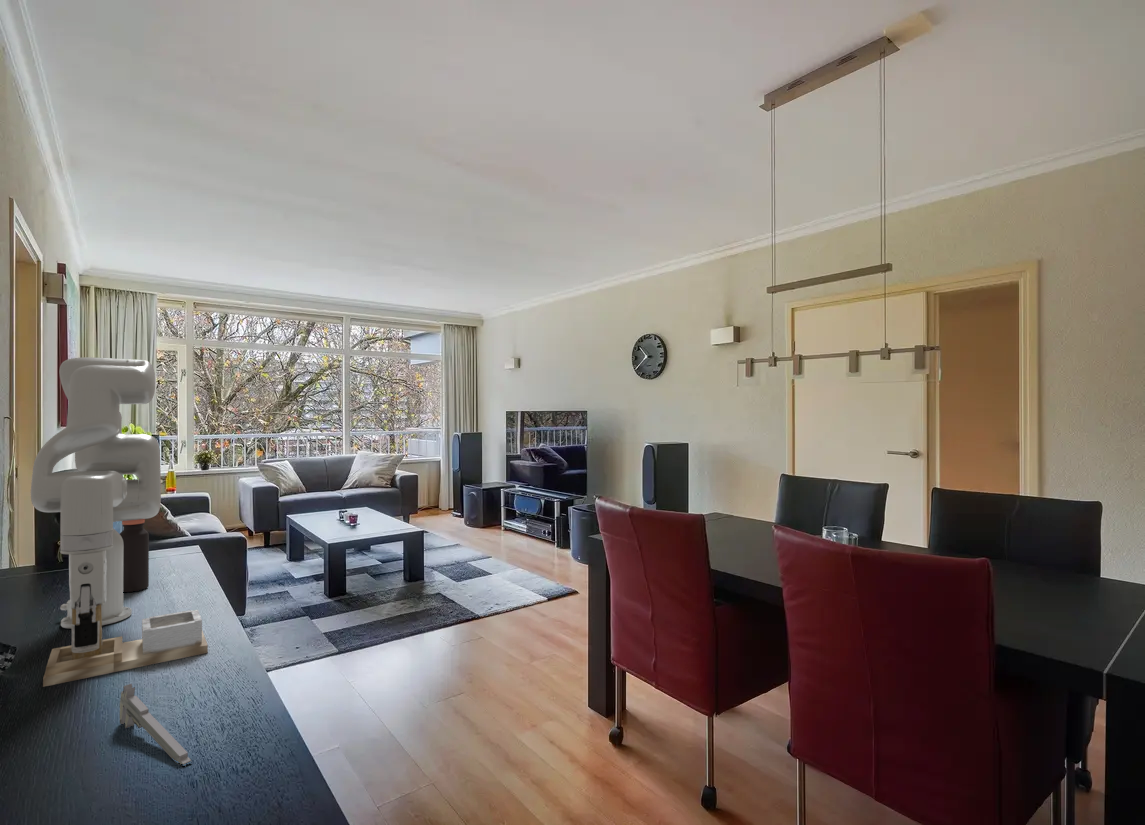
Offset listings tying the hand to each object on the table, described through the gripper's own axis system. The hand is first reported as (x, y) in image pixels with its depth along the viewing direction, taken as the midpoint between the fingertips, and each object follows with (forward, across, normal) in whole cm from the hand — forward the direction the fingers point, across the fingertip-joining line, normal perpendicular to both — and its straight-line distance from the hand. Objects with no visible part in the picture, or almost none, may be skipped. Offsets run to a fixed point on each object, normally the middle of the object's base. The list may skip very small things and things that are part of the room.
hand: (86, 640), depth 109 cm
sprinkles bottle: (+5, 0, 0) cm, 5 cm away
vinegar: (+5, +58, -7) cm, 59 cm away
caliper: (+5, -39, -9) cm, 41 cm away
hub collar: (+3, 0, -13) cm, 13 cm away
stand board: (+5, 0, -6) cm, 8 cm away
